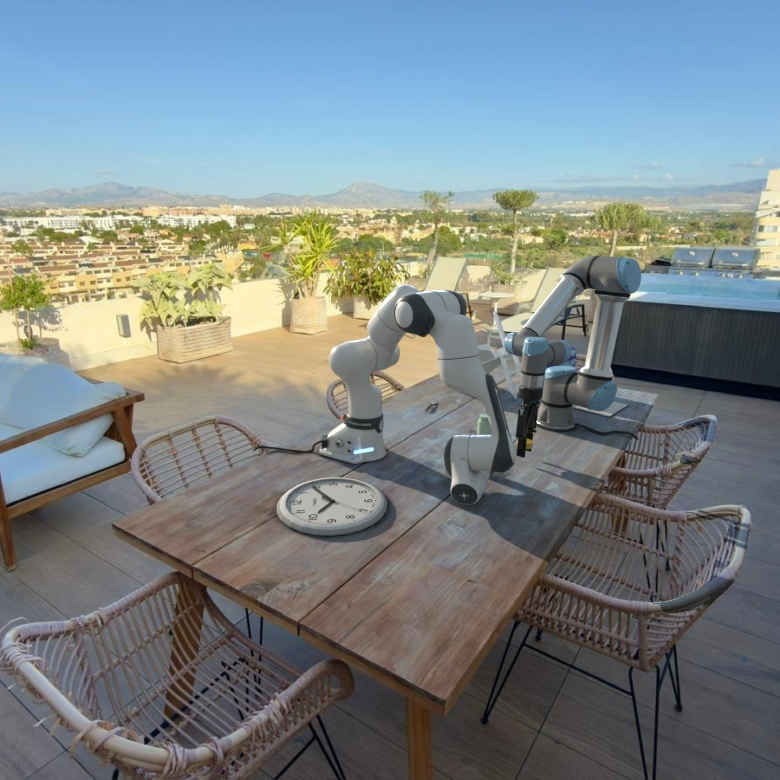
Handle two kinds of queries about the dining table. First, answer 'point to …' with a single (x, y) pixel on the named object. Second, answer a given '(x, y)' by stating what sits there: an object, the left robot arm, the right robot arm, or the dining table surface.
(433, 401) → the fork
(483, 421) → the green cylinder
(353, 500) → the wall clock
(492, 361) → the white plastic object
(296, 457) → the dining table surface
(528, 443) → the lid
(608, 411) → the invitation card
